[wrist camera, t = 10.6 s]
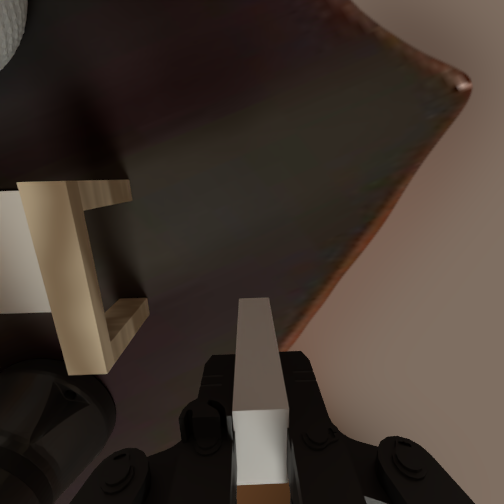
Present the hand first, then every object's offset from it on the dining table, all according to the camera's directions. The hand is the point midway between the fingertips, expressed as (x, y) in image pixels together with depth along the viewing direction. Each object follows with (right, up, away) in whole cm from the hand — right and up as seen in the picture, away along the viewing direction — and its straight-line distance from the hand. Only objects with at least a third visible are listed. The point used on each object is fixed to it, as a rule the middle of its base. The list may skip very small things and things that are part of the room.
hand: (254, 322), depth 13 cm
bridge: (-13, +4, +14) cm, 19 cm away
